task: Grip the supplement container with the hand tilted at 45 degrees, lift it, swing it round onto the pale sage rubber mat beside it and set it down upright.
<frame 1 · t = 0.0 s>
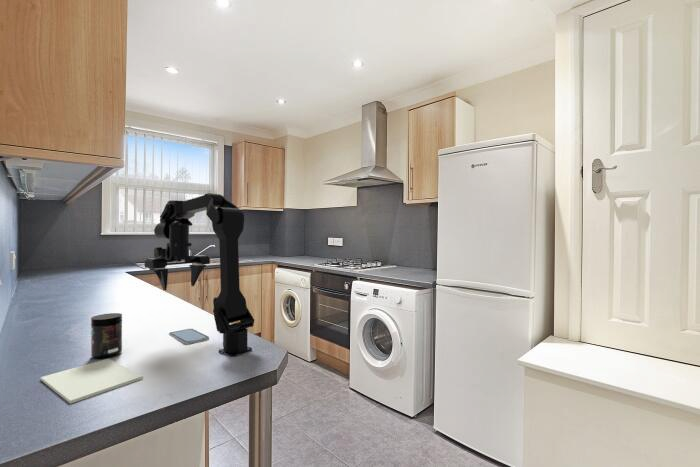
hand: (179, 288, 107), 15 cm above the counter, tool pointing down, fingers open, 9 cm apart
mat: (92, 379, 74), on the counter
supplement container: (106, 355, 89), on the counter
smartphone: (188, 338, 104), on the counter
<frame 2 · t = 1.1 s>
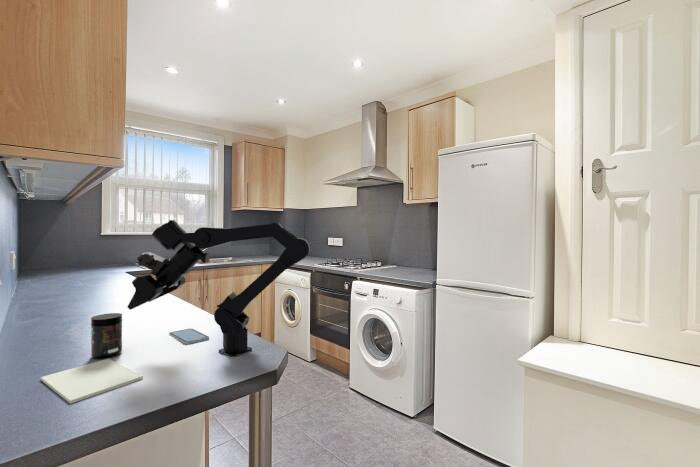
hand: (138, 304, 89), 13 cm above the counter, tool tilted 45°, fingers open, 9 cm apart
nothing on the counter moved.
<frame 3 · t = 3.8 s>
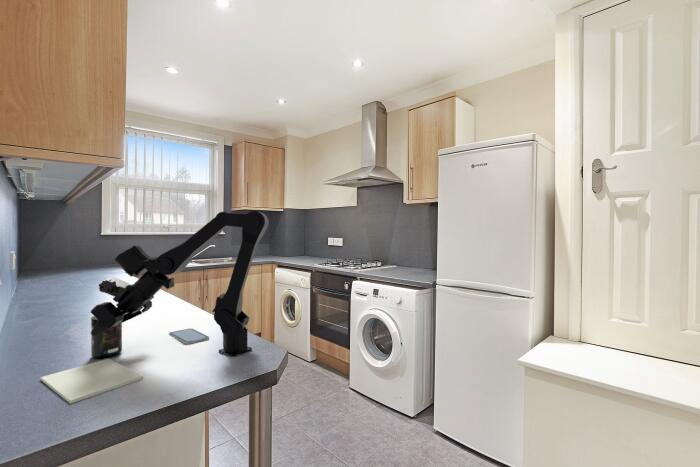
hand: (101, 330, 88), 7 cm above the counter, tool tilted 45°, fingers closed on supplement container, 7 cm apart
supplement container: (106, 355, 89), on the counter, touching gripper
everything else where it was.
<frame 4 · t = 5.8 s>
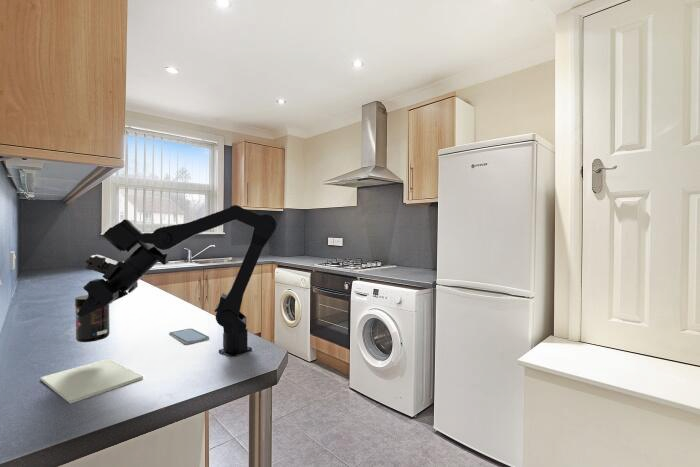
hand: (86, 312, 81), 13 cm above the counter, tool tilted 45°, fingers closed on supplement container, 7 cm apart
supplement container: (93, 339, 82), point 6 cm above the counter, touching gripper
everything else where it was.
when the fingers open (8 cm above the counter, at t = 8.0 s): supplement container drops 1 cm, resting on mat.
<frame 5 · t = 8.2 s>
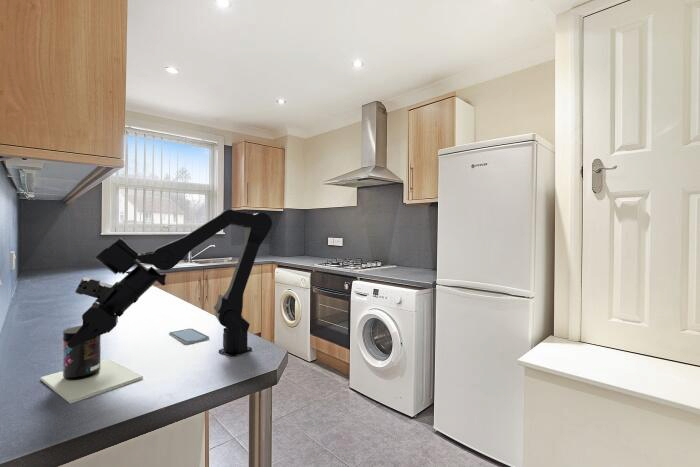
hand: (73, 340, 74), 9 cm above the counter, tool tilted 45°, fingers open, 8 cm apart
supplement container: (82, 375, 75), resting on mat
everything else where it was.
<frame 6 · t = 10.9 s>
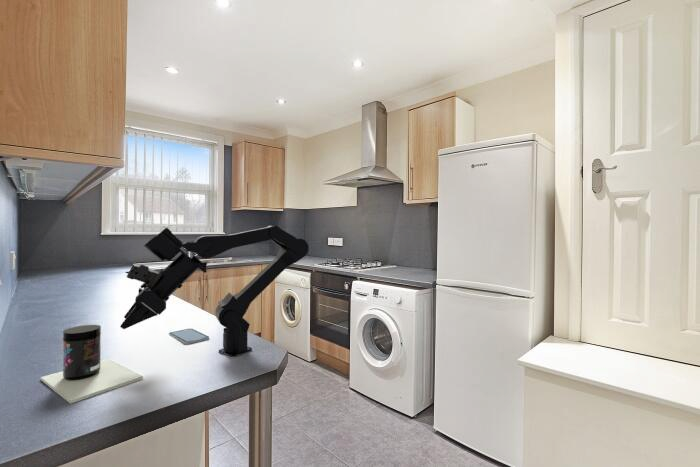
hand: (123, 322, 79), 11 cm above the counter, tool tilted 45°, fingers open, 9 cm apart
nothing on the counter moved.
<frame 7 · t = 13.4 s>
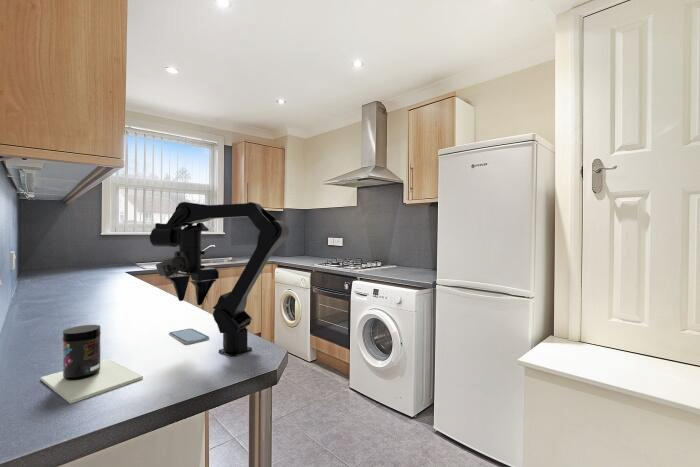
hand: (190, 302, 93), 13 cm above the counter, tool pointing down, fingers open, 9 cm apart
nothing on the counter moved.
at the end: supplement container inside the target area on the mat (2.9 cm from its centre), point 0.4 cm above the mat's base; supplement container tilted 0°; the gripper is holding nothing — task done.
